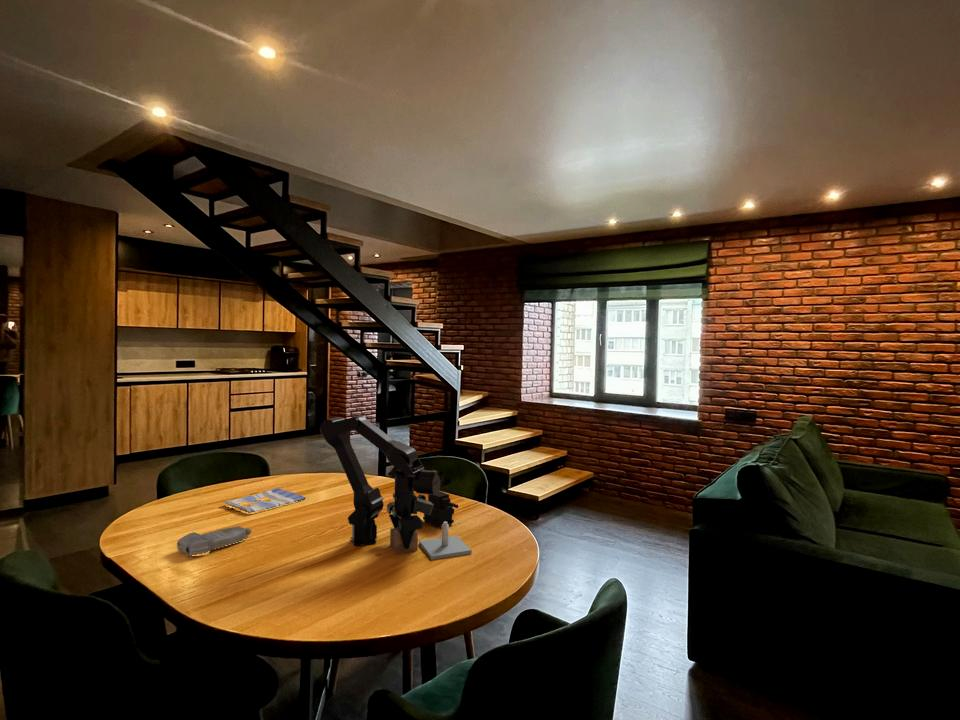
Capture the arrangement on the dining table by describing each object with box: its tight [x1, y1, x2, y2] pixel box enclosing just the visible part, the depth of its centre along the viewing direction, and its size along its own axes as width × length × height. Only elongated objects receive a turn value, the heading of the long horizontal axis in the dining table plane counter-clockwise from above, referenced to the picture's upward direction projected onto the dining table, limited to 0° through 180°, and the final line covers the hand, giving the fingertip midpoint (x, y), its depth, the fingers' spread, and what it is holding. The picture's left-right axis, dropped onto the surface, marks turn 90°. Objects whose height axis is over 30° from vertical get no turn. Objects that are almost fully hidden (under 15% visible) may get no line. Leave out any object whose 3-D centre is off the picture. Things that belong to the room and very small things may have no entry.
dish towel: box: [223, 487, 306, 513], centre depth 189 cm, size 17×24×3 cm
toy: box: [422, 490, 459, 529], centre depth 169 cm, size 8×14×10 cm, turn 44°
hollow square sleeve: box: [389, 527, 419, 554], centre depth 149 cm, size 6×6×5 cm
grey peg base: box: [418, 522, 473, 561], centre depth 149 cm, size 12×12×8 cm
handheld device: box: [176, 525, 252, 557], centre depth 149 cm, size 10×20×5 cm, turn 144°
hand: (403, 544), depth 149 cm, fingers closed on hollow square sleeve, 6 cm apart
